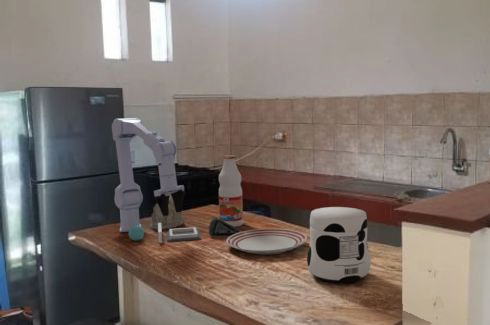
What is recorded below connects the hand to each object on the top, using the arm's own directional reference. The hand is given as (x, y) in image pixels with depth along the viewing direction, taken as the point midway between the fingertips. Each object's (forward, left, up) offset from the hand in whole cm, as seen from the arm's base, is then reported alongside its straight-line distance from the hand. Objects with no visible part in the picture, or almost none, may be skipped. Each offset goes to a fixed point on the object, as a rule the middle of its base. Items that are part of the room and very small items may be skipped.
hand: (172, 213), depth 173 cm
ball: (-7, -13, -8) cm, 17 cm away
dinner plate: (+13, +31, -11) cm, 35 cm away
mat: (-8, +4, -11) cm, 14 cm away
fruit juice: (-20, +24, -11) cm, 33 cm away
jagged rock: (-30, -3, -11) cm, 32 cm away
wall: (-8, -5, -11) cm, 14 cm away
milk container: (+46, +44, -11) cm, 65 cm away
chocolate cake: (-6, +20, -11) cm, 23 cm away
